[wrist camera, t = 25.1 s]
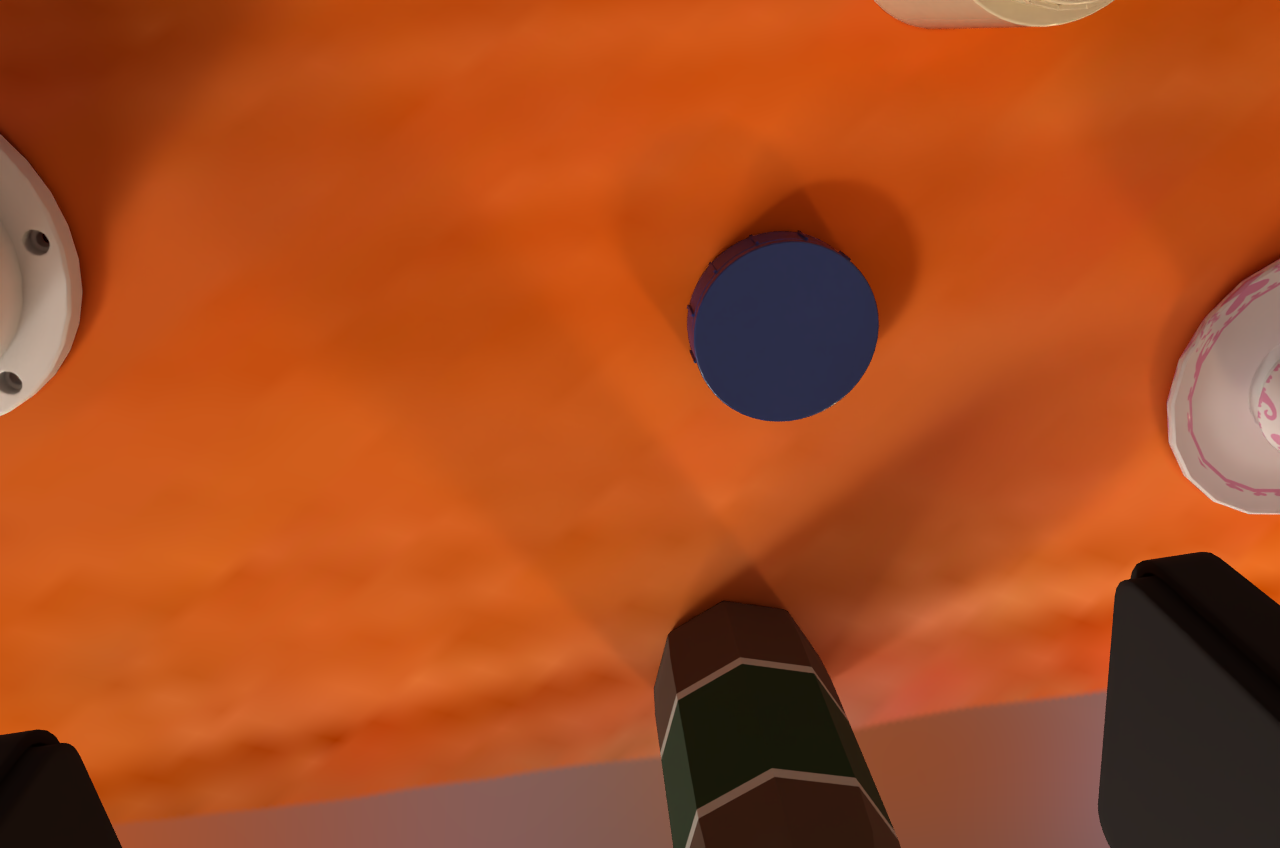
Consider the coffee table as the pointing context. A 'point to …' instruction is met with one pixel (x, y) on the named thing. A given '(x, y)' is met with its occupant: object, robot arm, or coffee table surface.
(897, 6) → the jar
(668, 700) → the beer bottle
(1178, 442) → the teacup
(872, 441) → the coffee table surface
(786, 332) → the jar lid
